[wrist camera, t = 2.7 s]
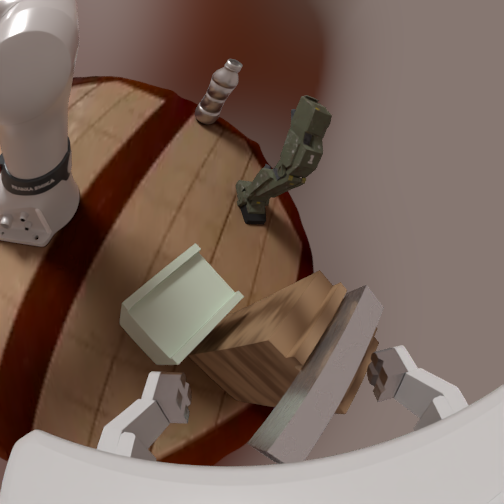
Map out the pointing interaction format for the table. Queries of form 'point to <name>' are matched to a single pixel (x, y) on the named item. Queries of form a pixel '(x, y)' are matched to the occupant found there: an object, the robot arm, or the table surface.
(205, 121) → the plastic bottle
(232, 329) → the wood grain block
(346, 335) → the link bar
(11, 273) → the table surface
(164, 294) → the shelf block
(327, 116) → the mechanical leg
